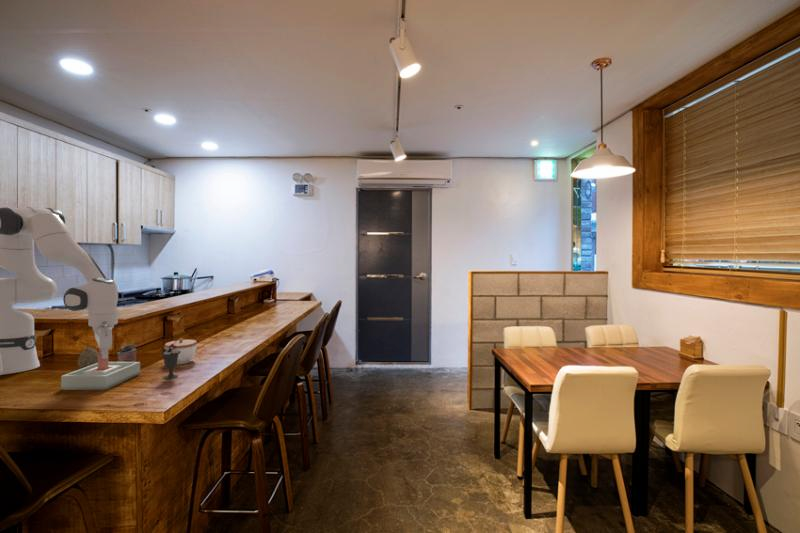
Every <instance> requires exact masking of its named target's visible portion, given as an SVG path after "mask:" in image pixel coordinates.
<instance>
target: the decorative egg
mask: <svg viewBox="0 0 800 533" xmlns="http://www.w3.org/2000/svg"><path fill="white" fill-rule="evenodd" d="M82 350H83V351H81V353H80V354H79V355H78V358H77V366H78V367H79V369H82V368H85V367H87V366H90V365H93V364H96V363H98V353H99V352H98V351H97V350H96V349H94V348H93V347H91V346H90V347H89V346H88V347H86V348H84V349H82Z"/></svg>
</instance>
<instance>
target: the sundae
mask: <svg viewBox="0 0 800 533" xmlns="http://www.w3.org/2000/svg"><path fill="white" fill-rule="evenodd" d="M177 340H178V339H177ZM177 340H175V341H177ZM175 343H176V342H175ZM176 347H177V346H174V344H171V346H168V347H167V348H166V349H165V347H162V348H161V350H162V352H161V353H160V354H161V355H162V357H163V363H164V366H165V368H166V369H168V371H169V373H168V374H167V375H166V376H164V377H163V379H164V380H174V379H176V378H178V377H179V375H177V374H174V372H173V371H174V370H173V369H174V368H175V367H176V366H178V364H177V360H178V355H179V353H180V351H179V350H178V349H177V348H176Z"/></svg>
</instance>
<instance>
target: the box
mask: <svg viewBox="0 0 800 533" xmlns="http://www.w3.org/2000/svg"><path fill="white" fill-rule="evenodd" d="M140 374H141V362H140V361H136V362H118V361H108V369H107V370H98V363H96V364H93V365H90V366H87V367H85V368H82V369H81V368H79V369H77V370H74V371H71V372H69V373H66V374H63V375H61V376H60V390H61V391H62V390H63V391H65V390H66V391H69V390H71V391H72V390H73V391H78V390H80V391H81V390H82V391H83V390H84V391H88V390H89V391H90V390H91V391H93V390H94V391H99V390H101V391H105V390H106V391H107V390H109V389H111V388H114V387H116V386H117V385H119V384H122V383H123V382H125V381H128V380H130V379H132V378H134V377H136V376H139V375H140Z"/></svg>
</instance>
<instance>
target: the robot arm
mask: <svg viewBox="0 0 800 533" xmlns="http://www.w3.org/2000/svg"><path fill="white" fill-rule="evenodd" d="M35 246H36V248H37V250H38V252H39V253H40V255H42V257H44V258H45V259H47V260H49V261H52V262H56V263H60V264H63V265H67V266H70V267H72V268H74V269H77V271H79V272H80V273H81V274H82V275H83V276H84V278H85V280H86V283H84V284H81V285H77V286H74V287H70V288H68V289H67V290H66V291H65V292H64V294H63V303H64V306H65V307H66V308H67V309H68V310H70V311H72V312H82V311H83V312H85V311H88V321H87V322H88V327H92V330H93V334H94V339H95V341H96V343H97V345H98V353H101V352H102V359H105V358H108V359H109V350H110V349H111V348H113V330H112V329H114V328H115V325H117V324H118V323H119V318H118V317H119V316H118V315H119V314H118V313H119V312H118V310H119V309H118V308H117V304H118V301H119V300H118V299H119V296H120V295H119V291H118V286H117V283H116V282H115V280H114V279H112V278H107V277H106V274H104V273H103V271H102V270H101V268H100V267H99V265H98V264H97V262H96V261H95V259H94V258H93V257H92V255H90V253H89V252H88V251H86V250H84V249H83V248H82V247H81V246H80V244H78V242H77V241H76V239H74V236H73V235H72V233H71V232H70V230H69V228H68V226H67V225H66V218H65V216H64V215H63V213H62V212H61V211H60V210H59V209H56V208H51V207H36V206H35V207H34V206H24V207H21V206H20V207H19V206H18V207H6V206H5V207H0V268H1V269H2V270H6V271H8V272H11V273H14V274H16V275H17V276H16V277H0V376H2V375H10V374H16V373H22V372H26V371H30V370H34V369H37V368H40V366H41V363H40V360H39V358H38V353H37V347H36V342H37V337H36V336H37V335H36V333H35V317H34V316H33V314H31V313H28V312H26V311H22V310H18V309H16V308H14V307H13V306H14V305H16V304H27V303H28V304H29V303H40V302H44V301H45V302H46V301H50V300H53V299H54V297H56V295H57V293H58V285H57V283H56V282H55V281H54V280H53V279H52V278H50V277H48V276H46V275H45V274H43V273H42V272H41V271H40V269H39V268H38V266H37V264H36V258H35Z"/></svg>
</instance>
